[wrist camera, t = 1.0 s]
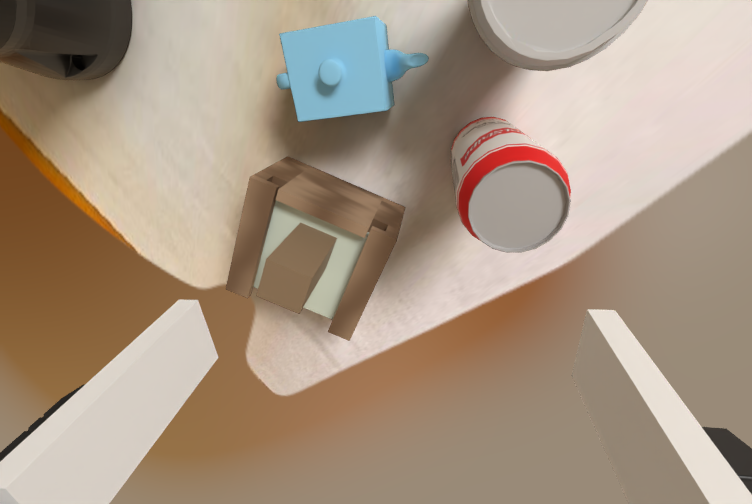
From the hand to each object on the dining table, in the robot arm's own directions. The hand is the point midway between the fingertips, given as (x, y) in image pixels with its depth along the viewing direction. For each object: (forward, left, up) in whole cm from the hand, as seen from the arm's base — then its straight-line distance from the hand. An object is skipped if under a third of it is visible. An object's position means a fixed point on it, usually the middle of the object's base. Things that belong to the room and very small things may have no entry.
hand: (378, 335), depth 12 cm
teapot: (-8, +6, -26) cm, 27 cm away
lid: (-6, -11, -19) cm, 23 cm away
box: (-6, -10, -25) cm, 28 cm away
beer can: (+5, +4, -25) cm, 26 cm away
